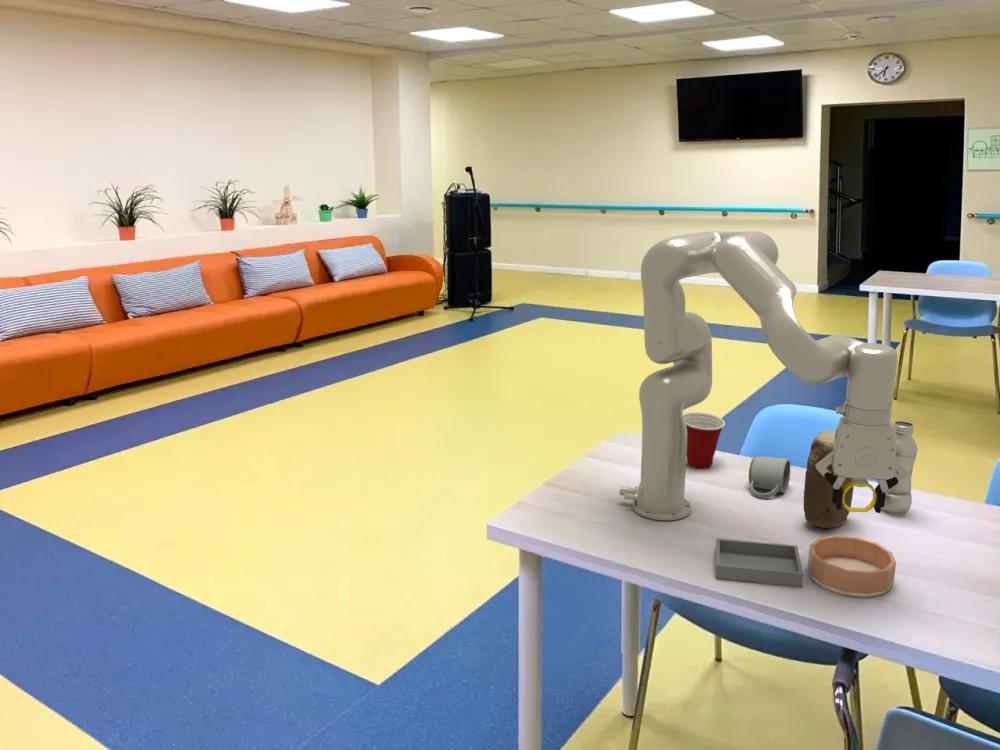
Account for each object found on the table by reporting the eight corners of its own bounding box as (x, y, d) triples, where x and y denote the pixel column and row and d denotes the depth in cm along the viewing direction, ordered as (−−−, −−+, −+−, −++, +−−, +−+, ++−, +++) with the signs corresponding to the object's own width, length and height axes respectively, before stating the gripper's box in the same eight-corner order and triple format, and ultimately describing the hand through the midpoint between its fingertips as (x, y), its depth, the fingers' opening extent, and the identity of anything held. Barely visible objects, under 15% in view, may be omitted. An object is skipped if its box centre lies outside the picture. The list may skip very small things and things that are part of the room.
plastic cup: (709, 476, 208) (712, 429, 204) (669, 465, 215) (671, 419, 211) (730, 463, 215) (733, 417, 212) (691, 453, 222) (694, 408, 219)
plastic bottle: (902, 520, 184) (913, 431, 178) (870, 510, 189) (881, 423, 183) (915, 511, 188) (927, 424, 182) (884, 502, 193) (895, 416, 187)
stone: (828, 537, 177) (837, 445, 171) (795, 526, 182) (804, 436, 176) (854, 519, 185) (864, 430, 179) (822, 509, 189) (831, 422, 184)
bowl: (812, 592, 156) (815, 568, 155) (804, 555, 170) (806, 532, 168) (899, 601, 153) (902, 576, 152) (883, 562, 166) (886, 539, 165)
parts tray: (715, 578, 161) (716, 565, 161) (715, 550, 172) (716, 538, 171) (801, 587, 158) (803, 573, 157) (796, 558, 168) (797, 545, 168)
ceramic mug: (754, 479, 206) (756, 449, 204) (789, 485, 202) (792, 454, 200) (742, 496, 197) (744, 465, 195) (779, 503, 193) (782, 471, 191)
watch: (842, 514, 157) (843, 484, 155) (838, 508, 159) (839, 478, 158) (877, 514, 156) (878, 483, 154) (873, 507, 158) (874, 477, 157)
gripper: (818, 418, 151) (809, 513, 156) (925, 424, 147) (912, 521, 152) (813, 404, 158) (804, 496, 163) (915, 410, 154) (903, 504, 159)
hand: (857, 507), depth 157 cm, fingers closed on watch, 6 cm apart
